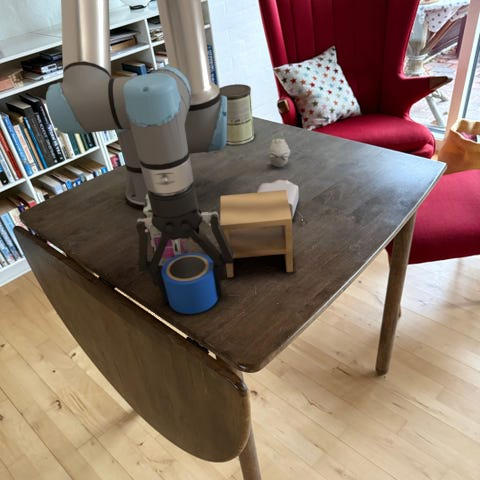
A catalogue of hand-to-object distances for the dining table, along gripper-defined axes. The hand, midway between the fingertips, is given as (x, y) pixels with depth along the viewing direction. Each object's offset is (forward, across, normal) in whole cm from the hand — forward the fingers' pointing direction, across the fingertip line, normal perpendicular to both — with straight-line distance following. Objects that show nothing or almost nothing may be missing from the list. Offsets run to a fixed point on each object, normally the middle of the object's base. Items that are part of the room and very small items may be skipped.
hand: (193, 294), depth 87 cm
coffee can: (0, +10, +75) cm, 76 cm away
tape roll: (+1, 0, 0) cm, 1 cm away
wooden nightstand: (+1, +13, +11) cm, 17 cm away
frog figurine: (+1, +21, +53) cm, 57 cm away
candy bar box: (+1, -5, +10) cm, 11 cm away
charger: (+1, +19, +32) cm, 37 cm away
